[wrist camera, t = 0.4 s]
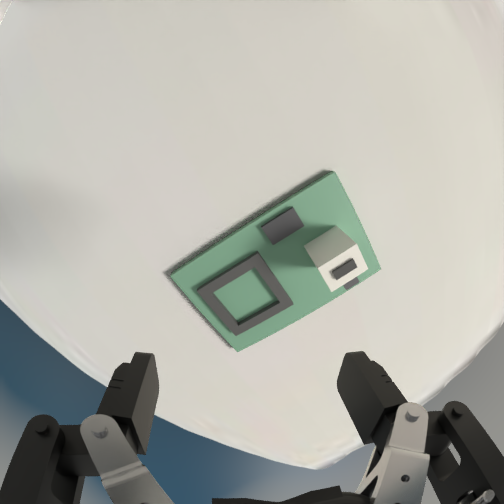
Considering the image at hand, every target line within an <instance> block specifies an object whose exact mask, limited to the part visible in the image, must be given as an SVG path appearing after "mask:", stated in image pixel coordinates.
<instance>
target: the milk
mask: <svg viewBox="0 0 504 504" xmlns="http://www.w3.org/2000/svg"><path fill="white" fill-rule="evenodd" d="M12 1H13V0H0V24H1V22H2V20H3V18H4V16H5V14H6V12H7V10H8V8H9V6H10V5H11V3H12Z"/></svg>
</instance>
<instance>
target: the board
mask: <svg viewBox="0 0 504 504" xmlns="http://www.w3.org/2000/svg"><path fill="white" fill-rule="evenodd" d="M335 226H337V227H338V228H340V229H341V230H342V231H343V232H344V233H345V234H346V235H348V236H349V237H350V238H351V239H352V240H353V241H354V242H355V243H357V245H358V247H359V250H360V252H361V254H362V256H363V258H364V260H365V263H366V265H367V267H368V270H366V271H365V272H363V273H361V274H360V275H358V276H357V278H358V280H359V283H361V282H362V281H364V280H365V279H367V278H368V277H370V276H371V275H373V274H374V273H376V272H377V271H379V270H380V269H381V267H380V265H379V263H378V260H377V258H376V256H375V253H374V251H373V249H372V246H371V244H370V242H369V240H368V237H367V235H366V233H365V231H364V229H363V226H362V224H361V222H360V220H359V218H358V216H357V214H356V212H355V210H354V208H353V206H352V203H351V201H350V199H349V198H348V196H347V194H346V192H345V190H344V188H343V186H342V184H341V182H340V180H339V178H338V176H337V175H336V173H335V172H334V171H331V172H329V173H328V174H326V175H324V176H323V177H321V178H320V179H318V180H316V181H315V182H313V183H311V184H310V185H308V186H306V187H305V188H303V189H302V190H300V191H298V192H297V193H295V194H293V195H292V196H290V197H289V198H287V199H285V200H284V201H282V202H281V203H279V204H277V205H276V206H274V207H273V208H271V209H269V210H268V211H266V212H265V213H263V214H261V215H260V216H258V217H257V218H255V219H253V220H252V221H250V222H249V223H247V224H246V225H244V226H243V227H241V228H239V229H238V230H236V231H235V232H233V233H232V234H230V235H228V236H227V237H225V238H224V239H222V240H221V241H219V242H218V243H216V244H215V245H213V246H212V247H210V248H208V249H207V250H205V251H204V252H202V253H201V254H199V255H198V256H196V257H195V258H193V259H192V260H190V261H189V262H187V263H186V264H184V265H183V266H181V267H180V268H178V269H177V270H175V271H174V272H172V274H171V276H170V277H171V278H172V279H173V280H174V282H175V283H176V284H177V285H178V286H179V288H180V289H181V290H182V291H183V292H184V293H185V295H186V296H187V297H188V298H189V299H190V300H191V302H192V303H193V304H194V305H195V306H196V307H197V309H198V310H199V311H200V312H201V313H202V314H203V315H204V316H205V318H206V319H207V320H208V321H209V322H210V323H211V324H212V325H213V326H214V328H215V329H216V330H217V331H218V332H219V333H220V334H221V335H222V336H223V337H224V338H225V339H226V341H227V342H228V343H229V344H230V345H231V346H232V347H233V348H234V349H235V350H236V351H237V352H239V351H241V350H243V349H245V348H247V347H249V346H251V345H253V344H255V343H257V342H258V341H260V340H262V339H264V338H266V337H268V336H270V335H272V334H274V333H276V332H277V331H279V330H281V329H283V328H285V327H287V326H288V325H290V324H292V323H294V322H296V321H297V320H299V319H301V318H303V317H304V316H306V315H308V314H310V313H311V312H313V311H315V310H316V309H318V308H320V307H322V306H323V305H325V304H327V303H328V302H330V301H332V300H333V299H335V298H337V297H338V296H340V295H341V294H343V293H345V292H346V289H345V288H344V286H343V285H342V286H341V287H339V288H338V289H336V290H334V291H333V292H331V291H330V289H329V287H328V286H327V284H326V282H325V281H324V279H323V277H322V276H321V274H320V272H319V271H318V269H317V268H316V266H315V264H314V262H313V261H312V259H311V257H310V256H309V254H308V252H307V251H306V249H305V247H304V245H306V244H307V243H309V242H311V241H312V240H314V239H315V238H317V237H319V236H320V235H322V234H323V233H325V232H327V231H328V230H330V229H331V228H333V227H335ZM359 283H358V284H359ZM356 285H357V284H356ZM356 285H354V286H356ZM354 286H353V287H354ZM353 287H351V288H353ZM351 288H350V289H351ZM350 289H348V290H350ZM348 290H347V291H348Z"/></svg>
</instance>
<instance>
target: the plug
mask: <svg viewBox="0 0 504 504" xmlns="http://www.w3.org/2000/svg"><path fill="white" fill-rule="evenodd" d="M304 247H305V249H306V251H307V252H308V254H309V256H310V257H311V259H312V261H313V262H314V264H315V266H316V268H317V269H318V271H319V272H320V274H321V276H322V277H323V279H324V281H325V282H326V284H327V286H328V287H329V289H330V291H331V292H333V291H334V290H336V289H338V288H339V287H341V286H342V285H343V286H344V288H345V289H346V291H347V290H348V289H350V288H351V287H353V286H354V285H356V284H358V283H359V280H358V278H357V276H358V275H360V274H361V273H363V272H365V271H366V270H368V267H367V265H366V263H365V260H364V258H363V256H362V254H361V252H360V250H359V247H358V245H357V243H355V242H354V241H353V240H352V239H351V238H350V237H349V236H348V235H346V234H345V233H344V232H343V231H342V230H341V229H340V228H338V227H337V226H335V227H333V228H331V229H330V230H328V231H327V232H325V233H323V234H322V235H320V236H319V237H317V238H315V239H314V240H312V241H311V242H309V243H307V244H306V245H304Z"/></svg>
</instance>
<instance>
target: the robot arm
mask: <svg viewBox="0 0 504 504" xmlns="http://www.w3.org/2000/svg"><path fill="white" fill-rule="evenodd" d="M337 389H338V392H339V394H340V396H341V398H342V400H343V402H344V404H345V406H346V408H347V410H348V412H349V415H350V417H351V419H352V421H353V423H354V425H355V427H356V429H357V431H358V433H359V435H360V437H361V439H362V441H363V443H364V445H365V444H369V443H373V442H374V443H375V445H376V446H375V448H374V450H373V452H372V455H371V458H370V461H369V463H368V466H367V469H366V471H365V474H364V476H363V479H362V481H361V483H360V485H359V487H358V488H357V490H356V492H355V493H351V492H341V489H340V486H335V487H330V488H325V489H320V490H315V491H310V492H307V493H305V494H302V495H299V496H297V497H294V498H291V499H289V500H285V501H282V502H270V501H262V500H254V499H247V498H231V499H230V498H229V499H223V498H220V499H219V498H212V504H421V500H422V496H423V492H424V487H425V482H426V477H427V476H428V478H429V480H430V482H431V484H432V486H433V488H434V491H435V493H436V495H437V497H438V499H439V501H440V503H441V504H504V457H503V456H502V454H501V452H500V451H499V449H498V448H497V447H496V445H495V444H494V442H493V441H492V439H491V438H490V437H489V435H488V434H487V433H486V431H485V430H484V428H483V427H482V426H481V424H480V423H479V422H478V420H477V419H476V418H475V416H474V415H473V414H472V412H471V411H470V410H469V408H468V407H467V406H466V405H464V404H463V403H461V402H458V401H451V402H448V403H447V404H446V405H445V407H444V408H443V410H442V411H430V412H427V411H426V409H425V408H424V407H423V406H421V405H419V404H417V403H412V402H407V400H406V399H405V397H404V396H403V395H402V393H401V392H400V390H399V389H398V388H397V386H396V385H395V383H394V382H392V379H391V378H390V377H389V376H388V374H387V373H386V371H385V370H384V368H383V367H382V366H380V365H379V364H378V363H376V362H375V361H370V359H369V358H368V357H367V355H366V354H365V352H363V351H359V352H350V353H346V354H345V356H344V359H343V362H342V366H341V369H340V372H339V376H338V379H337ZM158 394H159V380H158V374H157V368H156V362H155V356H154V354H152V353H142V352H135V354H134V356H133V358H132V361H131V363H124V362H123V363H122V364H121V365H120V366H119V367H118V368H117V369H115V371H114V373H113V376H112V378H111V380H110V382H109V385H108V387H107V389H106V392H105V394H104V396H103V399H102V401H101V403H100V406H99V408H98V411H97V413H96V415H92V416H90V417H88V418H86V419H85V420H84V421H83V422H82V424H80V425H59V424H58V422H57V421H56V419H54V418H53V417H51V416H49V415H37V416H35V417H33V418H32V419H31V420H30V421H29V422H28V424H27V426H26V428H25V430H24V432H23V434H22V437H21V439H20V441H19V443H18V446H17V448H16V450H15V453H14V455H13V457H12V460H11V463H10V465H9V468H8V470H7V473H6V475H5V478H4V481H3V484H2V487H1V490H0V504H80V498H81V493H82V489H83V484H84V479H85V476H101V478H102V480H101V481H102V484H103V485H104V488H105V489H106V491H107V493H108V495H109V496H110V498H111V500H112V502H113V503H114V504H174V503H173V502H172V501H171V499H170V498H169V497H168V496H167V494H166V493H165V492H164V491H163V489H162V488H161V487H160V485H159V484H158V483H157V481H156V480H155V479H154V478H153V476H152V475H151V473H150V472H149V471H148V469H147V468H146V467H145V466H144V465H143V464H142V463H141V462H140V460H139V459H138V457H137V454H143V455H146V451H147V445H148V441H149V436H150V431H151V426H152V421H153V417H154V412H155V408H156V403H157V399H158ZM451 443H452V444H453V445H454V447H455V449H456V450H457V452H458V453H459V455H460V458H461V463H460V465H458V463H457V461H456V460H455V458H454V456H453V454H452V453H451V451H450V449H449V448H448V447H449V445H450V444H451Z"/></svg>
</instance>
